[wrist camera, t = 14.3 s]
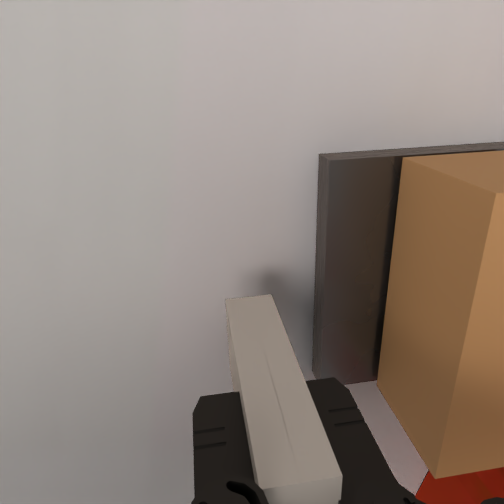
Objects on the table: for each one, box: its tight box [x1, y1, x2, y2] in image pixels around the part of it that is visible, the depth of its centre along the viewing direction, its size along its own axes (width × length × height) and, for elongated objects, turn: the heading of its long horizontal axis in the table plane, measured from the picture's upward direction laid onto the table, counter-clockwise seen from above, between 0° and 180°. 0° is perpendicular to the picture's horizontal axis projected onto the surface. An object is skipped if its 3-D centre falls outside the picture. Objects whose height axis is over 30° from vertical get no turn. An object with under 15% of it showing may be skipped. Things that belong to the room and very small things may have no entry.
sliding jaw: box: [377, 150, 504, 479], centre depth 14 cm, size 4×10×5 cm, turn 2°
